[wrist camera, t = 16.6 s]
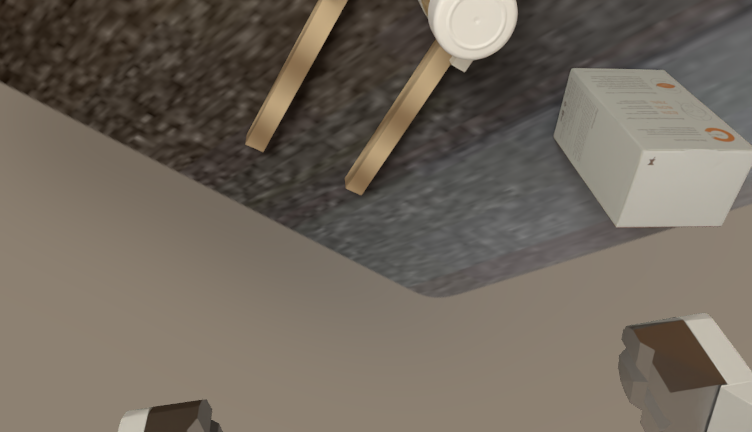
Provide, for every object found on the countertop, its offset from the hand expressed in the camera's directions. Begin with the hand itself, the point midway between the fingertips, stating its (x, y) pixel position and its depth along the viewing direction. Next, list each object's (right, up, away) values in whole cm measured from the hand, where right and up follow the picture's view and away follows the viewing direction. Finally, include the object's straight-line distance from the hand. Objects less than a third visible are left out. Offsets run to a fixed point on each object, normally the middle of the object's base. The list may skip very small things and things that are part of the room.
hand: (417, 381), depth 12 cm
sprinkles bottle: (+3, +21, +31) cm, 38 cm away
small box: (+18, +13, +39) cm, 45 cm away
